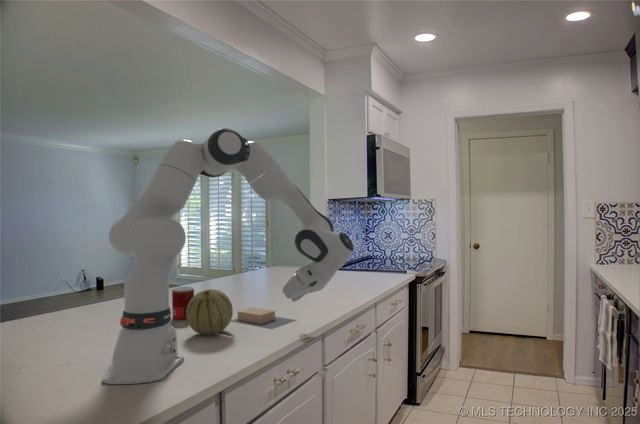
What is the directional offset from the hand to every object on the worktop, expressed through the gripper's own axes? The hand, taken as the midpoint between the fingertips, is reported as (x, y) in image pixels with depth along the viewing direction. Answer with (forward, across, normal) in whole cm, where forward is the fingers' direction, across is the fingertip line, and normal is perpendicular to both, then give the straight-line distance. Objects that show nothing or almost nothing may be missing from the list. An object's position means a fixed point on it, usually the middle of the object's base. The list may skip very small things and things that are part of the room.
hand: (294, 299), depth 152 cm
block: (+14, 0, -3) cm, 14 cm away
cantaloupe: (+20, +21, -6) cm, 30 cm away
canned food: (+38, +11, -24) cm, 46 cm away
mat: (+17, 0, -3) cm, 17 cm away
